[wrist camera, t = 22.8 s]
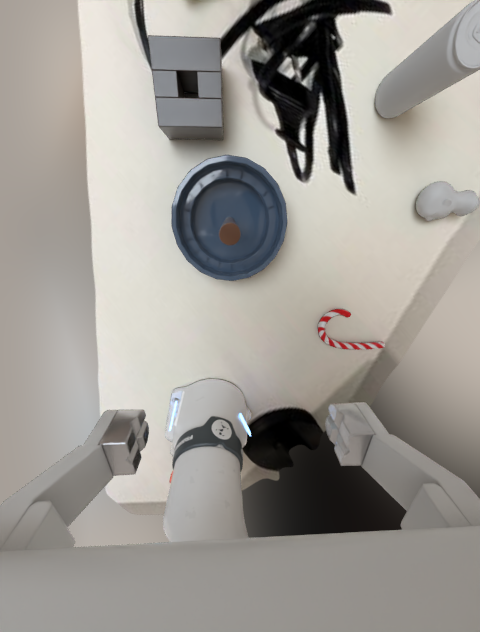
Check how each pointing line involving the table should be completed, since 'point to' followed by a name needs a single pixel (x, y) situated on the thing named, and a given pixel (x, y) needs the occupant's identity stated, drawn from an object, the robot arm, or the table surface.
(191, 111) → the holder
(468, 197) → the smooth white sculpture
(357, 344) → the candy cane
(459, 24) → the beverage can
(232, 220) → the stick
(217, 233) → the bowl
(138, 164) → the table surface
